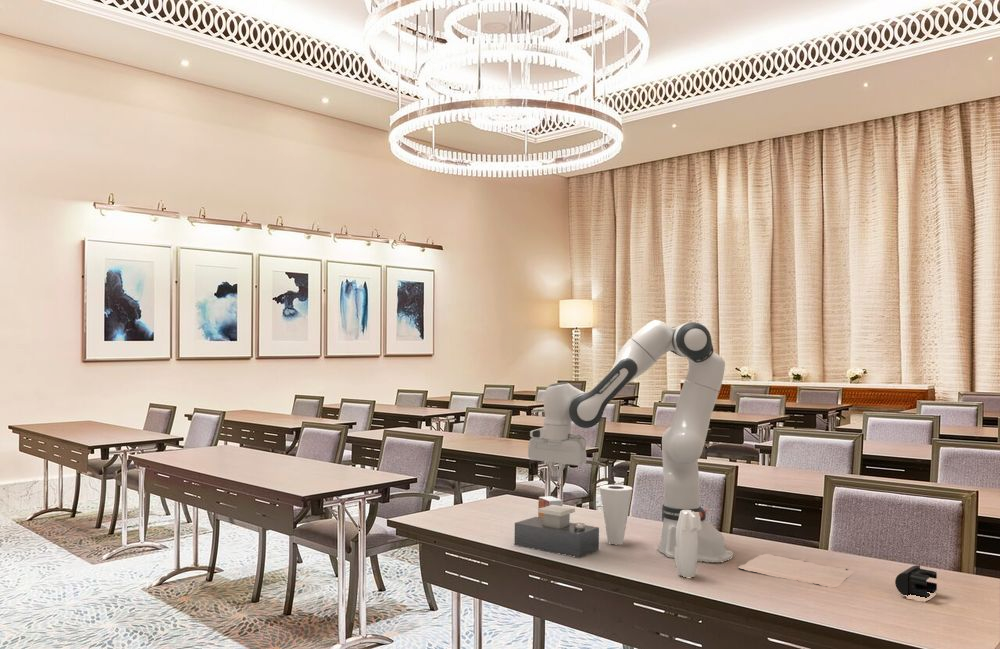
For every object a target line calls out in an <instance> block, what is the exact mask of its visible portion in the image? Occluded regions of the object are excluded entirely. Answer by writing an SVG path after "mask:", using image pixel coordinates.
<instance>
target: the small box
mask: <svg viewBox="0 0 1000 649" xmlns="http://www.w3.org/2000/svg"><path fill="white" fill-rule="evenodd" d="M563 504H564V503H563V499H559V498H558V497H555V496H552V495H551V496H549V495H548V496H539V497H538V507H537V510H538V509H539V508H543V507H546V506H550V505H558V506H563ZM537 514H538V515H537V517H540V518H543V513H538V512H537Z"/></svg>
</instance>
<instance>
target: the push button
mask: <svg viewBox="0 0 1000 649" xmlns="http://www.w3.org/2000/svg"><path fill="white" fill-rule="evenodd" d="M575 512H576V508H575V507H568V506H558V505H550V506H546V507H543V508H539V509H538V508H537V514H538V513H543V526H547V527H553V528H558V529H561V528H564V527H567V526H569V522H570V520H571V519H570V514H572V513H575Z"/></svg>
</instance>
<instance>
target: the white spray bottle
mask: <svg viewBox="0 0 1000 649" xmlns="http://www.w3.org/2000/svg"><path fill="white" fill-rule="evenodd" d="M701 529H702V526H701V520H700V515H699V512H694V511H693V512H692V511H691V510H681V511H680V514H679V519H678V523H677V527H676V545H677V546H675V548H674V556H675V558H674V564H675V568H676V569H677V573H678V575H680V576H681V577H682V576H683V577H694V576H696V571H697V565H698V564H697V563H698V561H697V555H698V537H697V530H701ZM683 577H682V578H683ZM694 578H695V577H694Z"/></svg>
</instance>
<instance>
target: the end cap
mask: <svg viewBox="0 0 1000 649" xmlns="http://www.w3.org/2000/svg"><path fill="white" fill-rule="evenodd" d="M937 573H938V572H937V571H935V570H929V569H924V568H921V565H913V566H910V567H909V568H907V569H906V570H904V571H902V572H900V573H898V575H897V576H896V577H895V583H894V584H895V587H896V590H897V591H898V592H899V593H900V594H901V595H902V594H903V595H907V596H908V595H910V594H911V595H916V596H920V597H925V598H927V597H929V596H930V594H929V593H927V592H930V593H934V592H935V593H936V592H937V589H938V583H936V582H932V581H927V580H928V579H930V578H931V579H934V580H935V579H937V576H938V574H937ZM903 595H902V596H903Z"/></svg>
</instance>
